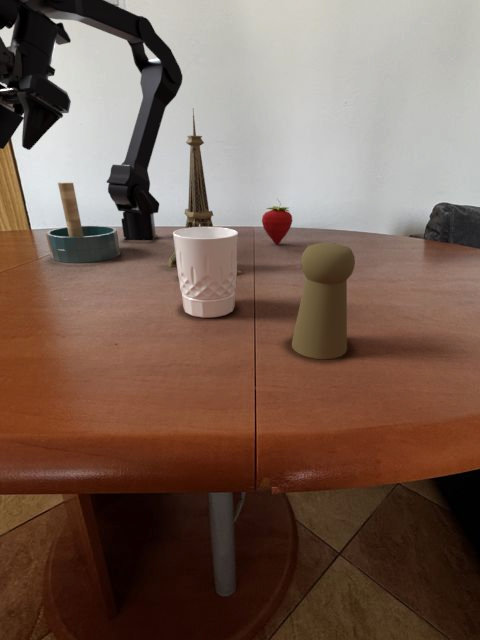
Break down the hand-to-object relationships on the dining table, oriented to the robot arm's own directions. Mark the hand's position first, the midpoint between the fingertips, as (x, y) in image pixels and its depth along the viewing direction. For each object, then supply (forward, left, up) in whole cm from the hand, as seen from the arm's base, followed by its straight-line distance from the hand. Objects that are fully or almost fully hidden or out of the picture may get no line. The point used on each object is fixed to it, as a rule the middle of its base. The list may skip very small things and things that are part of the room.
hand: (12, 148), depth 63 cm
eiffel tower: (-32, +7, -19) cm, 37 cm away
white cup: (-35, +26, -19) cm, 47 cm away
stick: (-8, +1, -18) cm, 20 cm away
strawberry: (-47, -16, -19) cm, 53 cm away
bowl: (-9, -1, -19) cm, 20 cm away
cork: (-48, +37, -19) cm, 63 cm away
